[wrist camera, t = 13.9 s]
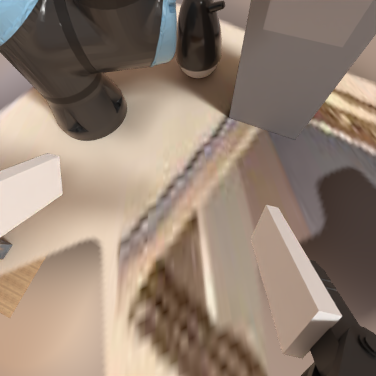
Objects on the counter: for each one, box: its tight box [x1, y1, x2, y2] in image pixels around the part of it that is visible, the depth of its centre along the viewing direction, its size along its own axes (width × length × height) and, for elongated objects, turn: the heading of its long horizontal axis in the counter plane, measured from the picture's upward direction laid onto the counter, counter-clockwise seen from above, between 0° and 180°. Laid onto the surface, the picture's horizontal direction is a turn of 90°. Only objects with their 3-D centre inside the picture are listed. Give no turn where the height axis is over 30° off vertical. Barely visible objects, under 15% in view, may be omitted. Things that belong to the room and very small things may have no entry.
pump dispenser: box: [175, 0, 225, 78], centre depth 41 cm, size 10×10×15 cm
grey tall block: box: [229, 0, 376, 140], centre depth 30 cm, size 12×14×27 cm
